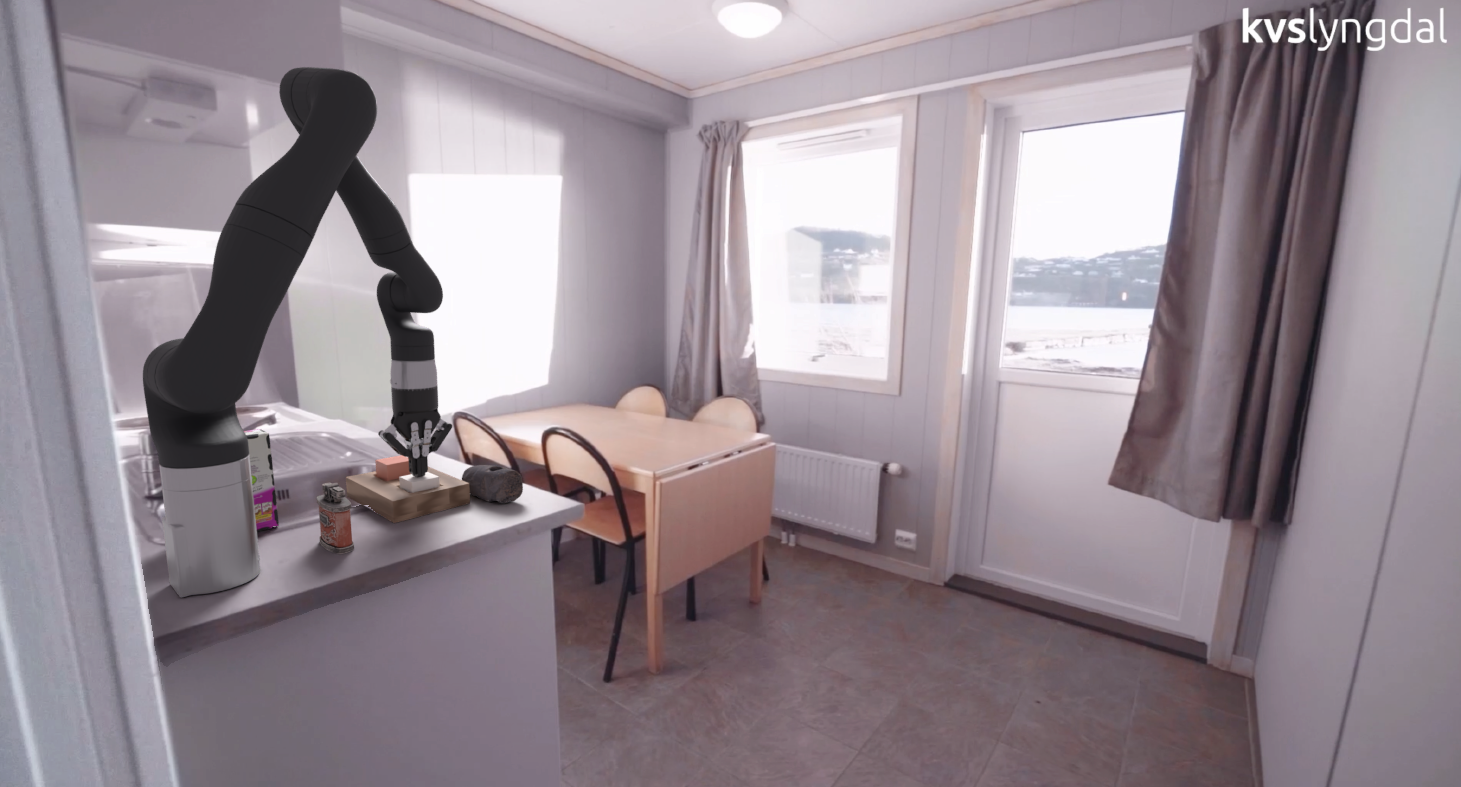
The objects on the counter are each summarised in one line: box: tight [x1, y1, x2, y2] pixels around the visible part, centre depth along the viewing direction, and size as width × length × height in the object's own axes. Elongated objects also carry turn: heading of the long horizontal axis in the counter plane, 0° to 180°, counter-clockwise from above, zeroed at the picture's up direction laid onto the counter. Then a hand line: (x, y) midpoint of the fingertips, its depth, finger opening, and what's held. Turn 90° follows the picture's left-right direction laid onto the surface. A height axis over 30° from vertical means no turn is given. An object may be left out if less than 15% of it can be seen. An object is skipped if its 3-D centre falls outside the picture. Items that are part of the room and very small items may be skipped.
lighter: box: [315, 482, 355, 555], centre depth 96 cm, size 8×3×10 cm, turn 53°
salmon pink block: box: [375, 454, 410, 481], centre depth 121 cm, size 5×5×4 cm
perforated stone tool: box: [461, 464, 524, 504], centre depth 120 cm, size 15×5×7 cm, turn 59°
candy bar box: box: [243, 428, 280, 533], centre depth 99 cm, size 11×5×16 cm, turn 143°
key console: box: [345, 466, 471, 524], centre depth 118 cm, size 14×20×4 cm
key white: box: [399, 472, 440, 493], centre depth 115 cm, size 5×5×4 cm
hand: (418, 475), depth 114 cm, fingers closed
